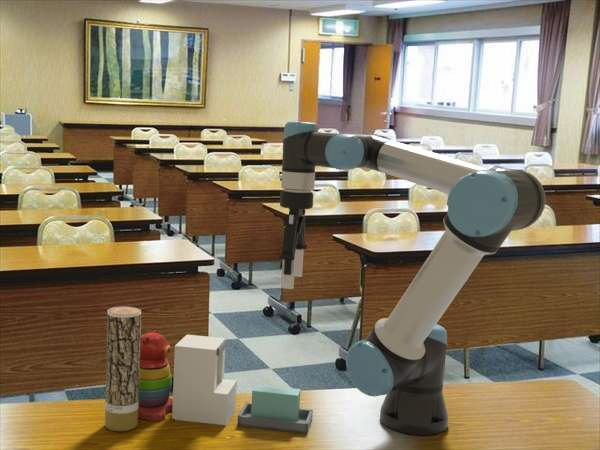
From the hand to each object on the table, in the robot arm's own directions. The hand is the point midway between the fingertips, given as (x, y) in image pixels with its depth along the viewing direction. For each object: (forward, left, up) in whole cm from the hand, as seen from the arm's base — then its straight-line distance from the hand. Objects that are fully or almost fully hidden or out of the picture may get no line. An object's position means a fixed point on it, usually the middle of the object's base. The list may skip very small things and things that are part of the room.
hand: (291, 282), depth 178 cm
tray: (0, +13, -29) cm, 32 cm away
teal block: (0, +13, -28) cm, 31 cm away
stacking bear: (+28, +14, -29) cm, 43 cm away
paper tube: (+31, +24, -29) cm, 49 cm away
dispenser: (+16, +13, -29) cm, 35 cm away
